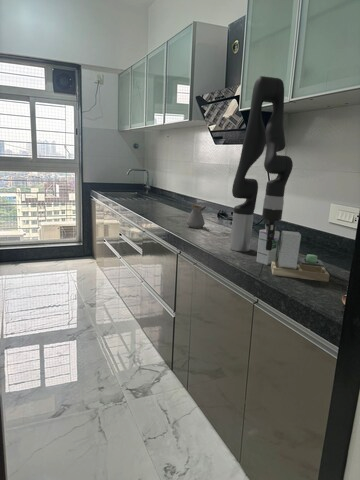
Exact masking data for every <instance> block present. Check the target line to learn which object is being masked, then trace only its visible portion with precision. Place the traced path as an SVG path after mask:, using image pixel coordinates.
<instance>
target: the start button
mask: <svg viewBox="0 0 360 480" xmlns="http://www.w3.org/2000/svg"><path fill="white" fill-rule="evenodd" d="M305 258H306V262H310V263H317V260H318V255H316V254H310V253H308V254H306V256H305Z"/></svg>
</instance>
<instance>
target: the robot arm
mask: <svg viewBox="0 0 360 480" xmlns="http://www.w3.org/2000/svg"><path fill="white" fill-rule="evenodd" d="M251 93H252V94H251V100H250V109H249V115H248V121H247V125H246V130H245V134H244V137H243V143H242V147H241V152H240V157H239V162H238V166H237V169H236V173H235V176H234V179H233V184H232V188H231V189H232V191H231V193H232V196H233V198H234V199H235V198H236V199H245V201H244V202H242V203H241V204H238V205H235V206H234V207H233V212H232V213H233V214H232V223H231V233H230V242H229V243H230V244H229V249H230V250H232V251H235V252H249V251H250V247H251V241H252V231H253V223H254V216H255V215H254V214H255V209H256V203H257V197H258V191H259V183H258V180H257V179H255V178H247V177H246V176H247V173H248V172H249V170H250V168H251V167H252V166H253V165H254V163H256V162H257V161H258V159H260V158H261V156H262V155H263V153H264V151H265V155H264V156H265V157H264V162H263V165H264V170H265V171H266V172H267V173H268V174H270V175H271V174H272V175H277V176H276V178H274V179H271V180H268V181H267V182H266V186H265V196H264V199H263V204H262V205H263V206H262V207H263V208H262V214H261V219H263V220H266V223H265V225H264V227H265V229H266V236H267V238H266V240H267V242H266V250H269V251H271V250H272V242H273V241H274V236H275V230H277V224H276V222H279V221H282V219H283V210H284V199H285V198H284V197H285V191H286V185H287V182H288V180H289V178H290V175H291V172H292V170H293V167H294V164H293V163H294V162H293V160H292V158H291V157H290V156H289V155H280V154H277V153H278V152H281V151H283V150H285V149H286V137H285V128H284V110H285V109H284V108H285V107H284V106H285V86H284V82H283V80H282V79H281V78H279V77H273V76H272V77H271V76H265V75H264V76H263V75H262V76H261V75H260V76H258V77H257V78H256V80H255V82H254V85H253V88H252V92H251ZM263 103H270V104H272V113H271V116H270V118H269V120H268V122H267V123H266V126H265V124H264V121H263V118H262V117H263V116H262V109H263ZM265 147H266V150H265ZM265 229H264V230H265ZM267 231H268V232H267ZM269 235H271V236H272V237H269Z"/></svg>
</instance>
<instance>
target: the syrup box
mask: <svg viewBox="0 0 360 480" xmlns="http://www.w3.org/2000/svg"><path fill="white" fill-rule="evenodd" d="M267 232H268V231H267ZM280 234H281V233H280V230H277V229H275V236H274V241H273V242H272V250H271V251H269V250H266V242H267V240H266V238H267V236H266V229H259V234H258V242H257V243H258V244H257V253H256V262H257V263H259V264H263V265H265V266H268V265H269V266H271V263H272V261H275V262H277V261H278V253H279V245H280V243H279V242H280V236H281V235H280ZM269 237H272V236H271V235H269Z"/></svg>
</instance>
